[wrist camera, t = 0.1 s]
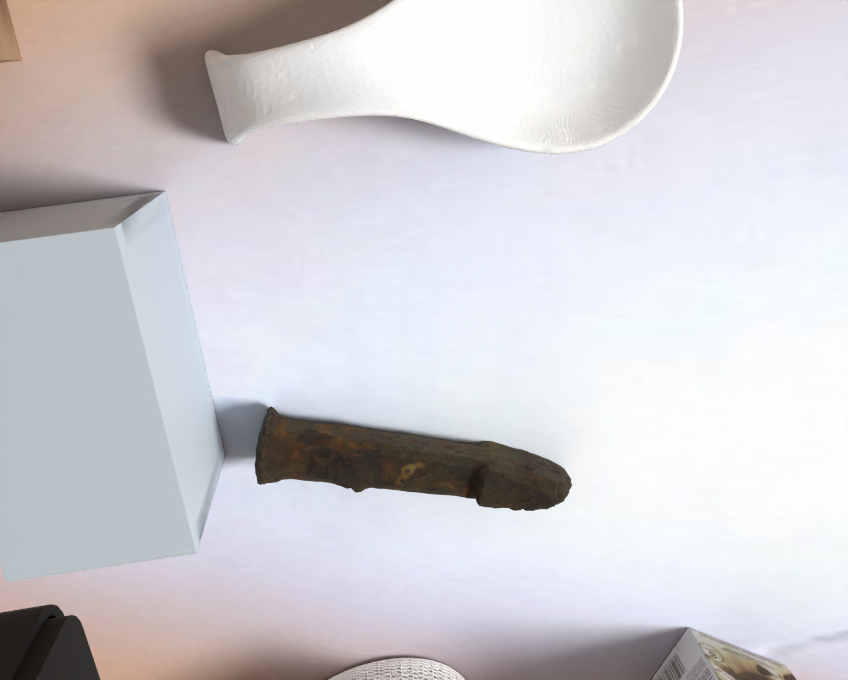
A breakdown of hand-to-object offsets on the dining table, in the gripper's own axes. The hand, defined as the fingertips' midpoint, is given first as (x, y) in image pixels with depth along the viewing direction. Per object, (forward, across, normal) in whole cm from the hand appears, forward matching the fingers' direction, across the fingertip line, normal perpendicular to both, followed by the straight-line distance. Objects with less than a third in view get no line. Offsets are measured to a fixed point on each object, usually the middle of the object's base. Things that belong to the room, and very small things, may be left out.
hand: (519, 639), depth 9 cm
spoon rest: (+37, -4, -6) cm, 38 cm away
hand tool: (+37, 0, +16) cm, 41 cm away
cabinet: (+37, +21, +6) cm, 43 cm away
